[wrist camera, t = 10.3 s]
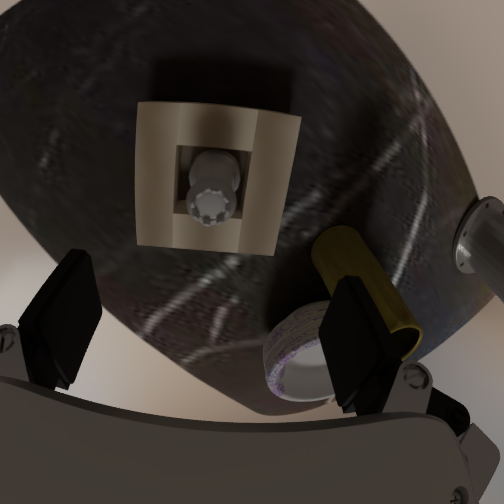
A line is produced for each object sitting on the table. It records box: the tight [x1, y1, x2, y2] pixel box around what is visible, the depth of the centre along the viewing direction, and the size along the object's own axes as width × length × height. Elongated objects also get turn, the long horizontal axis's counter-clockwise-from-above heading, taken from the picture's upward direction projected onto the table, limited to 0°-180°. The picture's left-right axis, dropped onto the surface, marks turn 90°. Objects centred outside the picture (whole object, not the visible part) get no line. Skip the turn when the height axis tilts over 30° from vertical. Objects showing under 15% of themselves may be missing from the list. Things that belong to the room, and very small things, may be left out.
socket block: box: [135, 101, 301, 256], centre depth 22 cm, size 12×12×4 cm
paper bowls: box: [263, 300, 335, 402], centre depth 33 cm, size 15×15×8 cm
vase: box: [311, 225, 423, 361], centre depth 24 cm, size 6×6×14 cm
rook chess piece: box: [186, 149, 241, 227], centre depth 20 cm, size 4×4×8 cm
